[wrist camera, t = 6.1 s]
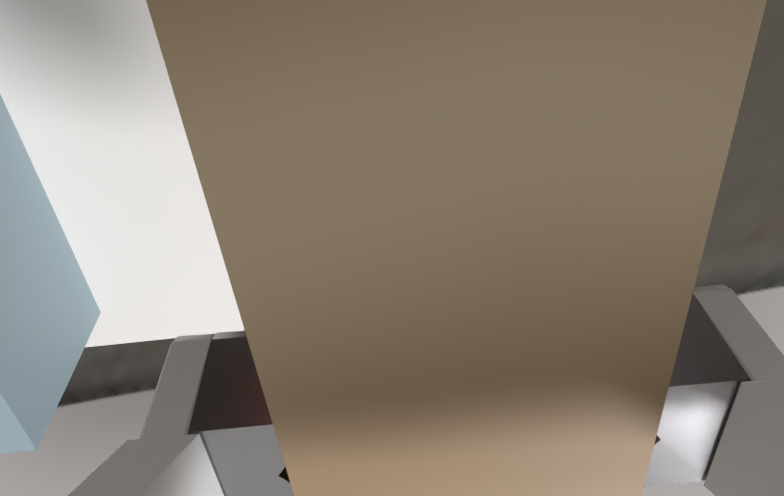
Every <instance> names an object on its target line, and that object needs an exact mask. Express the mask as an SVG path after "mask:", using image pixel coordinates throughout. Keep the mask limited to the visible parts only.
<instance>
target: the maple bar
mask: <svg viewBox="0 0 784 496" xmlns="http://www.w3.org/2000/svg"><path fill="white" fill-rule="evenodd" d="M146 2H147V6H148V9H149V12H150V16H151V19H152V22H153V26H154V29H155V32H156V36H157V39H158V42H159V46H160V49H161V52H162V56H163V59H164V62H165V66H166V69H167V72H168V76H169V79H170V82H171V86H172V89H173V93H174V96H175V99H176V103H177V106H178V109H179V113H180V116H181V119H182V123H183V126H184V129H185V133H186V136H187V139H188V143H189V146H190V149H191V153H192V156H193V159H194V163H195V166H196V169H197V173H198V176H199V179H200V183H201V186H202V189H203V193H204V196H205V199H206V203H207V206H208V209H209V213H210V216H211V219H212V223H213V226H214V229H215V233H216V236H217V239H218V243H219V246H220V250H221V253H222V256H223V260H224V263H225V266H226V270H227V273H228V276H229V280H230V283H231V286H232V290H233V293H234V296H235V300H236V303H237V306H238V310H239V313H240V316H241V320H242V323H243V326H244V330H245V333H246V336H247V340H248V343H249V346H250V350H251V353H252V356H253V360H254V363H255V366H256V370H257V373H258V376H259V380H260V383H261V386H262V390H263V393H264V396H265V400H266V403H267V407H268V410H269V413H270V417H271V420H272V423H273V427H274V430H275V433H276V437H277V440H278V443H279V447H280V450H281V453H282V457H283V460H284V463H285V467H286V470H287V473H288V477H289V480H290V483H291V487H292V490H293V493H294V496H641V495H642V491H643V487H644V483H645V479H646V475H647V471H648V467H649V463H650V459H651V455H652V451H653V448H654V444H655V440H656V436H657V432H658V428H659V424H660V420H661V416H662V412H663V408H664V404H665V400H666V396H667V392H668V388H669V384H670V380H671V376H672V373H673V369H674V365H675V361H676V357H677V353H678V349H679V345H680V341H681V337H682V333H683V329H684V325H685V321H686V317H687V313H688V309H689V305H690V302H691V298H692V294H693V290H694V286H695V282H696V278H697V274H698V270H699V266H700V262H701V258H702V254H703V250H704V246H705V242H706V238H707V234H708V231H709V227H710V223H711V219H712V215H713V211H714V207H715V203H716V199H717V195H718V191H719V187H720V183H721V179H722V175H723V171H724V167H725V163H726V159H727V156H728V152H729V148H730V144H731V140H732V136H733V132H734V128H735V124H736V120H737V116H738V112H739V108H740V104H741V100H742V96H743V92H744V88H745V85H746V81H747V77H748V73H749V69H750V65H751V61H752V57H753V53H754V49H755V45H756V41H757V37H758V33H759V29H760V25H761V21H762V17H763V14H764V10H765V6H766V2H767V0H146Z"/></svg>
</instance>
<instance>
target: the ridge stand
mask: <svg viewBox="0 0 784 496" xmlns="http://www.w3.org/2000/svg"><path fill="white" fill-rule="evenodd" d="M233 331H245V330H244V326H243V323H242V320H241V316H240V313H239V310H238V306H237V303H236V300H235V296H234V293H233V290H232V286H231V283H230V280H229V276H228V273H227V270H226V266H225V263H224V260H223V256H222V253H221V250H220V246H219V243H218V239H217V236H216V233H215V229H214V226H213V223H212V219H211V216H210V213H209V209H208V206H207V203H206V199H205V196H204V193H203V189H202V186H201V183H200V179H199V176H198V173H197V169H196V166H195V163H194V159H193V156H192V153H191V149H190V146H189V143H188V139H187V136H186V133H185V129H184V126H183V123H182V119H181V116H180V113H179V109H178V106H177V103H176V99H175V96H174V93H173V89H172V86H171V82H170V79H169V76H168V72H167V69H166V66H165V62H164V59H163V56H162V52H161V49H160V46H159V42H158V39H157V36H156V32H155V29H154V26H153V22H152V19H151V16H150V12H149V9H148V6H147V2H146V0H0V454H2V453H11V452H21V451H29V450H37V448H38V446H39V444H40V442H41V440H42V438H43V436H44V433H45V431H46V429H47V427H48V425H49V423H50V420H51V418H52V416H53V414H54V412H55V410H56V408H57V406H58V403H59V401H60V399H61V397H62V395H63V393H64V391H65V388H66V386H67V384H68V382H69V380H70V378H71V375H72V373H73V371H74V369H75V367H76V365H77V363H78V360H79V358H80V356H81V354H82V352H83V350H84V348H85V347H93V346H102V345H112V344H122V343H131V342H141V341H150V340H160V339H170V338H177V337H178V336H187V335H202V334H216V333H219V332H233Z"/></svg>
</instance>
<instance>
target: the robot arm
mask: <svg viewBox="0 0 784 496" xmlns="http://www.w3.org/2000/svg"><path fill="white" fill-rule="evenodd" d="M694 482H705V483H704V486H705V487H706V488H707V489H709V490H710V491H711V492H712V493H713V494H714V495H715V496H784V355H783V354H782V353H781V352H780V350H779V349H778V348H777V346H776V345H775V344H774V343H773V341H772V340H771V339H770V338H769V336H768V335H767V334H766V332H765V331H764V330H763V329H762V327H761V326H760V325H759V323H758V322H757V321H756V320H755V318H754V317H753V316H752V315H751V313H750V312H749V311H748V309H747V308H746V307H745V306H744V304H743V303H742V302H741V300H740V299H739V298H738V297H737V295H736V294H735V293H734V292H733V290H732V289H730V288H729V287H727V286H725V285H723V284H722V285H713V286H704V287H695V288H694V290H693V294H692V298H691V302H690V305H689V309H688V313H687V317H686V321H685V325H684V329H683V333H682V337H681V341H680V345H679V349H678V353H677V357H676V361H675V365H674V369H673V373H672V376H671V380H670V384H669V388H668V392H667V396H666V400H665V404H664V408H663V412H662V416H661V420H660V424H659V428H658V432H657V436H656V440H655V444H654V448H653V451H652V455H651V459H650V463H649V467H648V471H647V475H646V479H645V483H644V486H651V485H664V484H680V483H694ZM68 496H294V493H293V490H292V487H291V483H290V480H289V477H288V473H287V470H286V467H285V463H284V460H283V457H282V453H281V450H280V447H279V443H278V440H277V437H276V433H275V430H274V427H273V423H272V420H271V417H270V413H269V410H268V407H267V403H266V400H265V396H264V393H263V390H262V386H261V383H260V380H259V376H258V373H257V370H256V366H255V363H254V360H253V356H252V353H251V350H250V346H249V343H248V340H247V336H246V333H245V331H233V332H219V333H216V334H202V335H187V336H178V337H177V338H176V339H175V340H174V341H173V342H172V344H171V345H170V348H169V351H168V354H167V357H166V360H165V363H164V366H163V369H162V372H161V375H160V378H159V381H158V384H157V387H156V390H155V393H154V396H153V399H152V402H151V405H150V408H149V411H148V414H147V417H146V420H145V423H144V426H143V429H142V432H141V436H140V439H137V440H128V441H126V442H125V443H124V444H123V445H122V446H121V447H120V448H118V449H117V450H116V451H115V452H114V453H113V454H112V455H111V456H110V457H109V458H108V459H107V460H106V461H105V462H104V463H102V464H101V465H100V466H99V467H98V468H97V469H96V470H95V471H94V472H93V473H92V474H91V475H90V476H88V477H87V478H86V480H84V481H83V482H82V483H81V484H80V485H79V486H78V487H77V488H76V489H75V490H74V491H72V492H71V493H70V494H69V495H68Z"/></svg>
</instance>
